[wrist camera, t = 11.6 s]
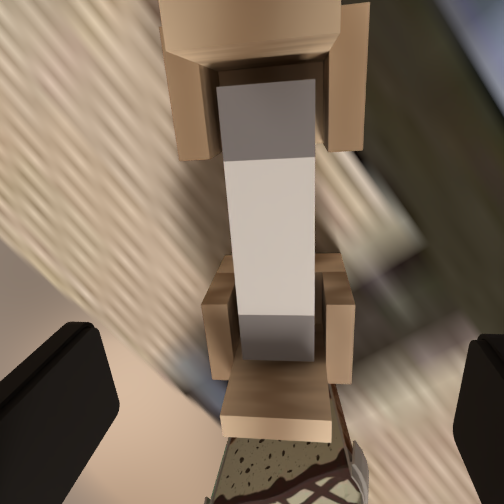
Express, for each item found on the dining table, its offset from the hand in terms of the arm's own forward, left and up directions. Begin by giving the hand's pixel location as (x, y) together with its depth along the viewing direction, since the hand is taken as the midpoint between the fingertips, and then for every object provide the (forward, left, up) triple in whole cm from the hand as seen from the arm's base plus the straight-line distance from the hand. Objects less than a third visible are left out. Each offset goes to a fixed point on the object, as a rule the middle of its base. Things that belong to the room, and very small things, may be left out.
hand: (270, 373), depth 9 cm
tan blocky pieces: (+1, 0, -17) cm, 17 cm away
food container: (0, +19, -17) cm, 25 cm away
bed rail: (+1, 0, -14) cm, 14 cm away
